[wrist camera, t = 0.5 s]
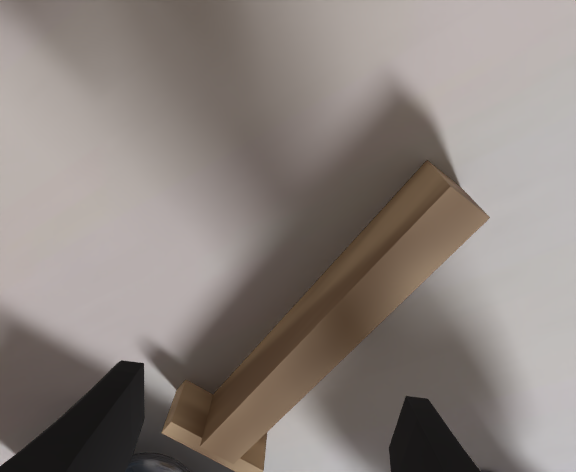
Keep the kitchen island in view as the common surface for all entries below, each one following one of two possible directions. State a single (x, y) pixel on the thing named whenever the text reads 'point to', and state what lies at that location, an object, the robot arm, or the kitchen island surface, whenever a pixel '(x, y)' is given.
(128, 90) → the kitchen island surface
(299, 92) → the kitchen island surface
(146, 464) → the steel token
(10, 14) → the kitchen island surface
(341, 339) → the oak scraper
